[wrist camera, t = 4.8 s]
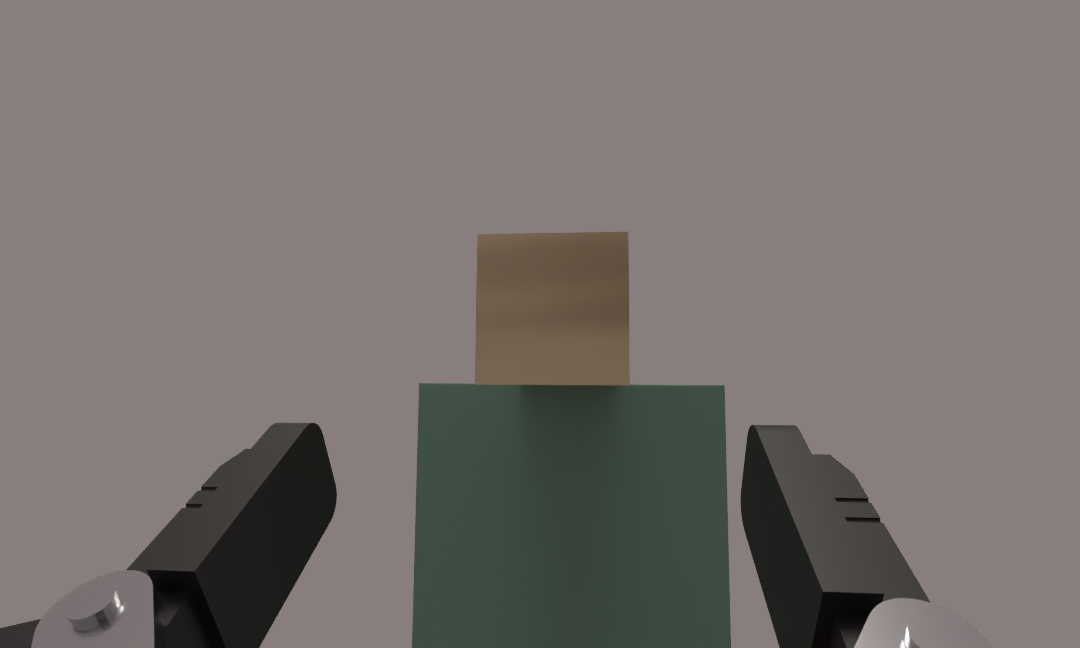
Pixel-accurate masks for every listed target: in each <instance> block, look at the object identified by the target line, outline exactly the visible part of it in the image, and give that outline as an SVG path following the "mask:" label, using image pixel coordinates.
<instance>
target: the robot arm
mask: <svg viewBox="0 0 1080 648" xmlns="http://www.w3.org/2000/svg"><path fill="white" fill-rule="evenodd" d="M336 497H337V493H336V485H335V481H334V477H333V473H332V469H331V465H330V461H329V457H328V453H327V449H326V445H325V441H324V437H323V434H322V431H321V429H320V427H319V426H318V425H317V424H315V423H275V424H273V425H272V426H270V427H269V429H268V430H267V431H266V432H265V433H264V434H263V436H262V437H261V438H260V439H259V440H258V441H257V443H256V444H255V445H254V446H253V447H252V448H251V449H245V450H244V451H242V452H241V453H239V454H238V455H236V456H235V457H233V458H232V459H230V460H229V461H227V462H226V463H224V464H223V465H221V466H220V467H219V468H218V469H217V470H216V471H215V472H214V473H213V475H212V476H211V477H210V478H209V479H208V480H207V481H206V482H205V484H203V486H202V489H201V491H197V492H196V493H195V494H194V496H193V497H192V498H191V499H190V500H189V501H188V502H187V504H186V508H182V509H181V510H180V511H179V512H178V513H177V514H176V516H175V517H174V518H173V519H172V520H171V521H170V522H169V523H168V525H166V527H165V528H164V529H163V530H162V531H161V532H160V533H159V534H158V535H157V537H156V538H155V539H154V540H153V541H152V542H151V543H150V544H149V546H147V548H146V549H145V550H144V551H143V552H142V553H141V554H140V555H139V556H138V558H137V559H136V560H135V561H134V562H133V563H132V564H131V565H130V567H129V568H128V569H127V570H123V571H116V572H112V573H108V574H105V575H102V576H99V577H97V578H94V579H92V580H90V581H88V582H86V583H84V584H82V585H80V586H78V587H77V588H75V589H74V590H72V591H70V592H69V593H68V594H66V595H65V596H64V597H62V598H61V599H60V600H59V601H57V602H56V603H55V604H54V605H53V606H52V607H51V608H50V609H49V610H48V611H47V612H46V614H45V615H44V616H43V618H42V619H39V620H34V621H30V622H26V623H21V624H17V625H12V626H8V627H4V628H0V648H259V647H260V645H261V643H262V641H263V639H264V638H265V636H266V634H267V633H268V631H269V629H270V627H271V625H272V624H273V622H274V620H275V618H276V617H277V615H278V613H279V611H280V609H281V608H282V606H283V604H284V603H285V601H286V599H287V597H288V595H289V594H290V592H291V590H292V588H293V587H294V585H295V583H296V581H297V580H298V578H299V576H300V574H301V572H302V571H303V569H304V567H305V565H306V564H307V562H308V560H309V558H310V556H311V554H312V553H313V551H314V550H315V548H316V546H317V544H318V542H319V541H320V539H321V537H322V535H323V534H324V532H325V530H326V528H327V527H328V525H329V523H330V521H331V519H332V517H333V514H334V510H335V506H336ZM741 513H742V521H743V526H744V530H745V533H746V537H747V540H748V543H749V547H750V550H751V553H752V557H753V560H754V563H755V567H756V570H757V573H758V577H759V580H760V583H761V587H762V590H763V593H764V597H765V600H766V603H767V607H768V610H769V613H770V616H771V620H772V623H773V627H774V630H775V633H776V636H777V640H778V643H779V647H780V648H993V646H992V645H991V644H990V643H989V641H988V640H987V639H986V638H985V637H984V636H983V635H982V634H981V633H980V632H979V631H978V630H977V629H976V628H974V627H973V626H972V625H971V624H970V623H968V622H967V621H966V620H964V619H963V618H961V617H960V616H958V615H956V614H954V613H953V612H951V611H949V610H947V609H945V608H943V607H940V606H937V605H936V604H933V603H931V602H930V601H929V599H928V598H927V596H926V594H925V593H924V591H923V589H922V587H921V586H920V584H919V582H918V581H917V579H916V577H915V576H914V574H913V572H912V571H911V569H910V567H909V566H908V564H907V562H906V561H905V559H904V557H903V556H902V554H901V552H900V551H899V549H898V547H897V545H896V544H895V542H894V541H893V539H892V537H891V535H890V534H889V532H888V530H887V529H886V527H885V525H884V524H883V523H881V522H880V517H879V515H878V514H877V512H876V510H875V509H874V507H873V505H872V504H871V503H869V502H868V497H867V495H866V493H865V492H864V490H863V488H862V487H861V485H860V483H859V482H858V480H857V478H856V477H855V475H854V474H853V473H851V472H850V471H849V470H848V469H847V468H845V467H844V466H843V465H842V464H841V463H839V462H838V461H837V460H836V459H834V458H833V457H832V456H831V455H812V454H811V452H810V450H809V448H808V446H807V444H806V442H805V440H804V438H803V436H802V434H801V432H800V431H799V429H798V428H797V427H796V426H795V425H751V426H750V428H749V431H748V437H747V445H746V453H745V462H744V471H743V480H742V488H741Z"/></svg>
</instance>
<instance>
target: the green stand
mask: <svg viewBox="0 0 1080 648" xmlns="http://www.w3.org/2000/svg"><path fill="white" fill-rule="evenodd" d="M418 414H419V415H418V448H417V450H418V451H417V486H416V487H417V488H416V524H415V559H414V596H413V633H412V648H731V637H730V635H731V634H730V594H729V553H728V515H727V514H728V513H727V473H726V472H727V471H726V431H725V392H724V386H719V385H630V386H620V385H476V384H447V383H444V384H443V383H440V384H439V383H437V384H436V383H435V384H429V383H428V384H427V383H426V384H425V383H424V384H423V383H422V384H421V383H420V384H419V412H418Z"/></svg>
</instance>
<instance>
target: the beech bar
mask: <svg viewBox="0 0 1080 648" xmlns="http://www.w3.org/2000/svg"><path fill="white" fill-rule="evenodd" d="M628 268H629V265H628V232H595V233H594V232H587V233H533V234H532V233H530V234H481V235H480V234H479V235H477V292H476V293H477V295H476V349H475V350H476V351H475V352H476V353H475V384H476V385H620V386H630V381H629V380H630V379H629V269H628Z"/></svg>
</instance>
